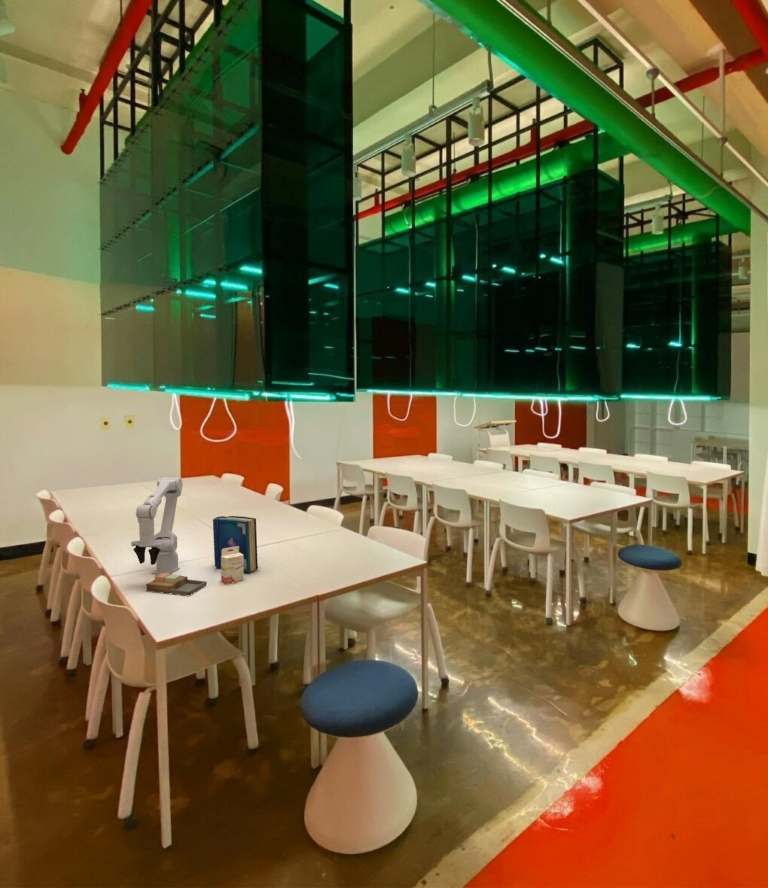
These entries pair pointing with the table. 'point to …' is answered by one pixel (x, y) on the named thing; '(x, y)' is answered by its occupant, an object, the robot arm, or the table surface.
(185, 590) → the tray
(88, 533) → the table surface
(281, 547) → the table surface
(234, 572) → the ink cartridge box
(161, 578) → the tile
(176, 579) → the tile
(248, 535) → the book
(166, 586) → the plate
